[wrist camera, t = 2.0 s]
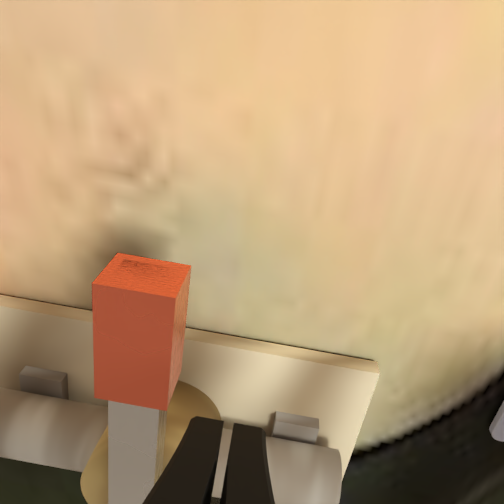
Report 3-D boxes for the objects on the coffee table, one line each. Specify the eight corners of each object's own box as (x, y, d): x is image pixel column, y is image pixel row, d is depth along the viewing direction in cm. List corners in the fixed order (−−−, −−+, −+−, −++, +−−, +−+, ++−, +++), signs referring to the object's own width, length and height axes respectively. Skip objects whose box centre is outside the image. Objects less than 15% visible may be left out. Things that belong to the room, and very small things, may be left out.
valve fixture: (377, 361, 20) (398, 451, 16) (328, 502, 24) (334, 602, 20) (-13, 292, 20) (-98, 361, 16) (9, 443, 25) (-52, 528, 20)
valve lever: (169, 521, 18) (157, 568, 17) (113, 511, 18) (94, 556, 17) (194, 266, 13) (179, 298, 11) (114, 252, 13) (88, 282, 11)
